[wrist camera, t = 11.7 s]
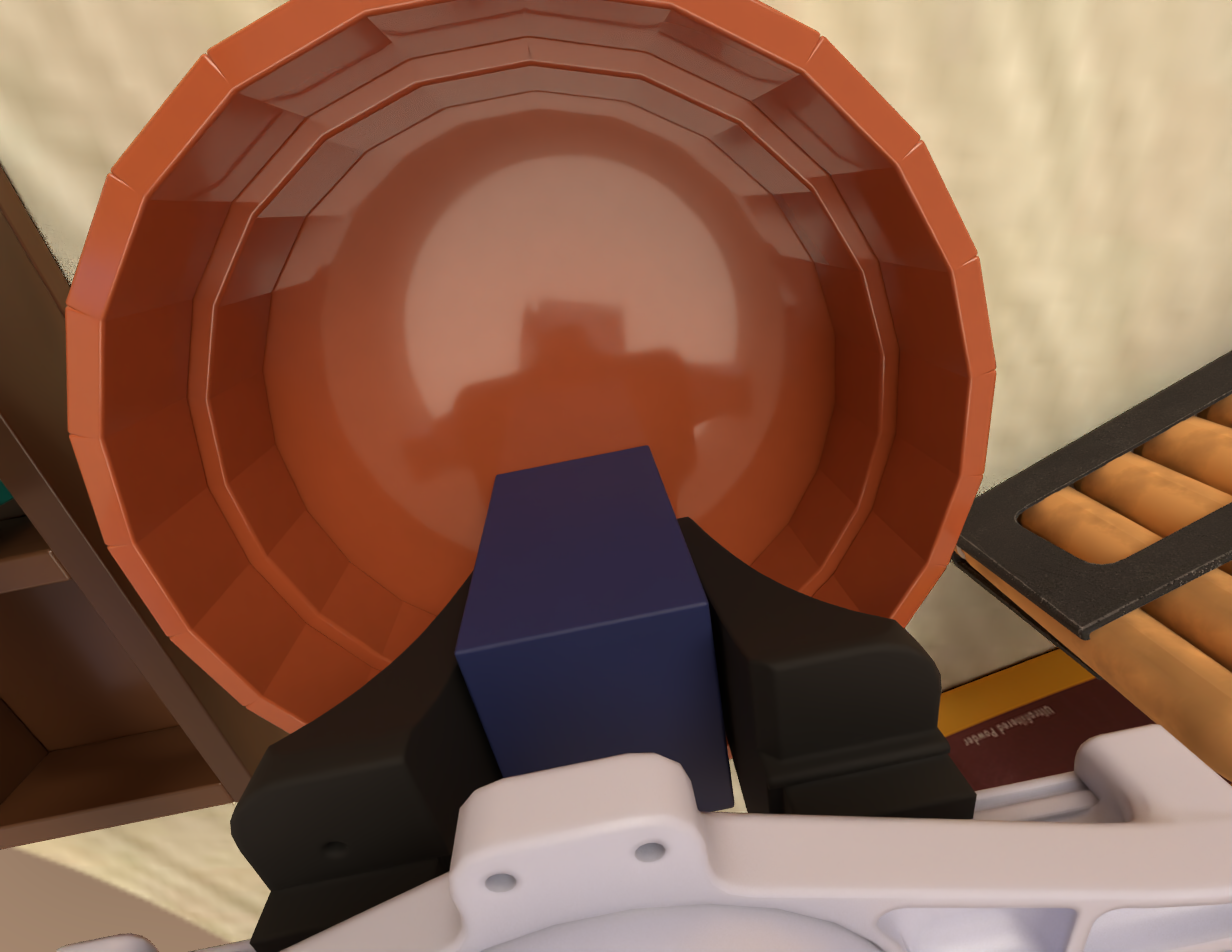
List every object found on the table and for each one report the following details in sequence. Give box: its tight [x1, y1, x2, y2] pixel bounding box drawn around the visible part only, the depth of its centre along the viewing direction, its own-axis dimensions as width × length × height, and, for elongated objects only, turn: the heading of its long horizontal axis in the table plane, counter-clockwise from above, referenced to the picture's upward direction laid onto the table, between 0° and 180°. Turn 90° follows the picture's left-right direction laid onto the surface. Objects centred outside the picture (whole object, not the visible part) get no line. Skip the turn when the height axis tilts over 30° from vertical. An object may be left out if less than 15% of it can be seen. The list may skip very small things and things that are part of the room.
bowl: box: [65, 0, 996, 759], centre depth 12 cm, size 15×15×5 cm
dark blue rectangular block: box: [454, 445, 734, 812], centre depth 13 cm, size 4×5×6 cm
